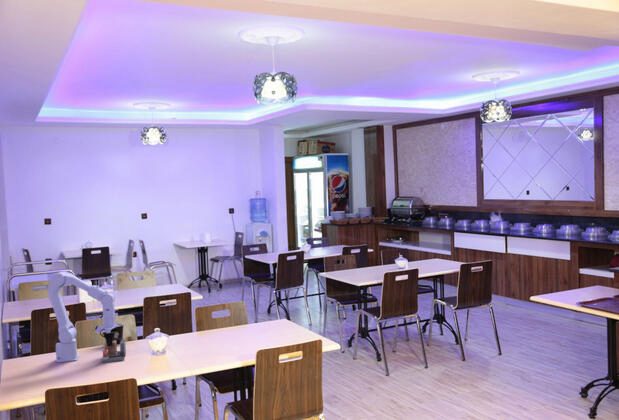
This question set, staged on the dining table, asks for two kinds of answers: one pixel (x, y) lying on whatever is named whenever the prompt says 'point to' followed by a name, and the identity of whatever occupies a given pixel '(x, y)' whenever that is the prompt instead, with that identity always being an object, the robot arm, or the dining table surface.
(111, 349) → the housing block
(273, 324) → the dining table surface
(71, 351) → the robot arm
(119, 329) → the coffee mug
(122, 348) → the press bed
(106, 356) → the lever
